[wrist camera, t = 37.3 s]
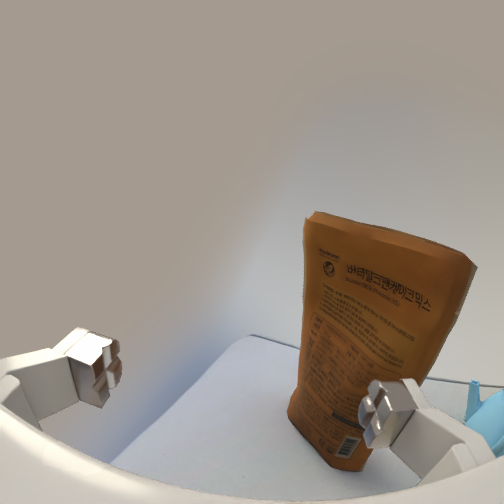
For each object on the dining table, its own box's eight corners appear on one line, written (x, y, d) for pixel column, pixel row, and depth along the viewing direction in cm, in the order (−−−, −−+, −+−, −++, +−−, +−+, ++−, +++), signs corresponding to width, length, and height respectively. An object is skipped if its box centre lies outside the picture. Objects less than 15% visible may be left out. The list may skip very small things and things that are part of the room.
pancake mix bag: (341, 495, 21) (468, 257, 14) (261, 400, 37) (301, 204, 30) (379, 470, 25) (489, 257, 18) (298, 390, 41) (344, 210, 34)
